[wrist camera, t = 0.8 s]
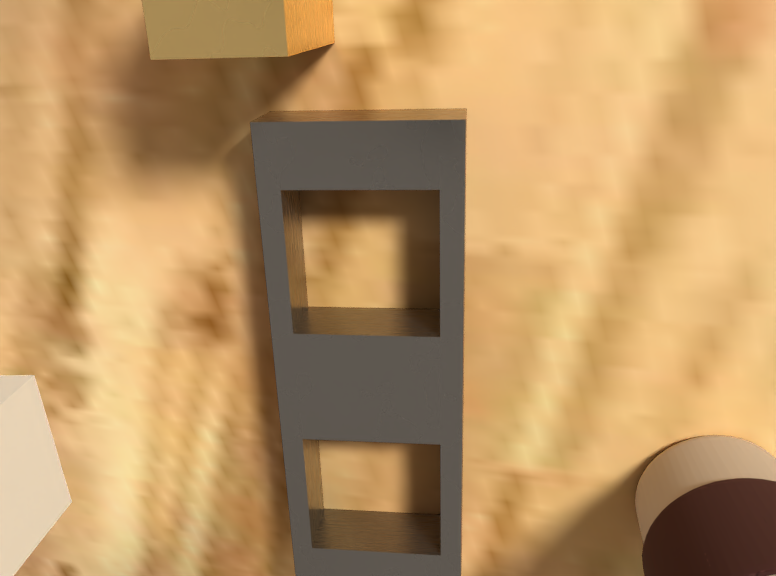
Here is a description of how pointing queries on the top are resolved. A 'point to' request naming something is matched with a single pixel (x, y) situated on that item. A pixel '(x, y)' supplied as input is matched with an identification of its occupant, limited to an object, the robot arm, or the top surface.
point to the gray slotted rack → (365, 335)
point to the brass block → (236, 28)
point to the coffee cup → (709, 509)
